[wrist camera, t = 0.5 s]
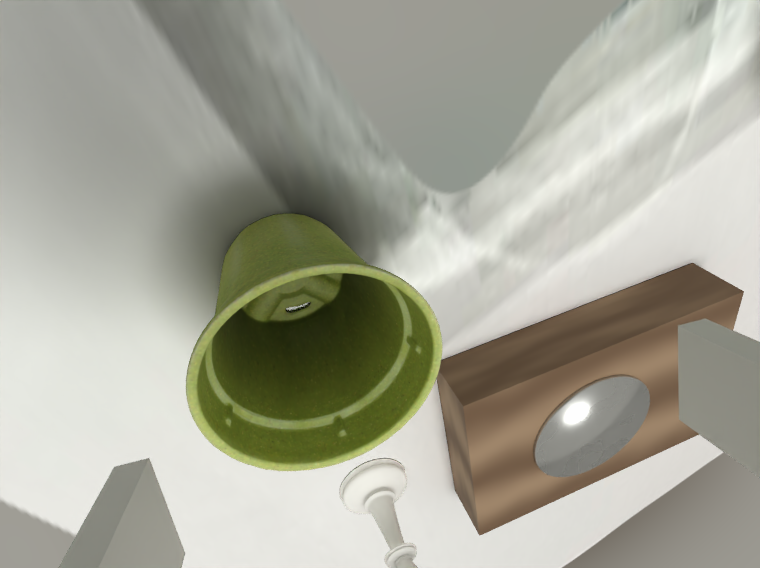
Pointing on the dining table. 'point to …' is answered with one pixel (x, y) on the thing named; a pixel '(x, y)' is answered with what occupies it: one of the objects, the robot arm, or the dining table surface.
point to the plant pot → (308, 350)
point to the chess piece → (380, 504)
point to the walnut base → (573, 395)
